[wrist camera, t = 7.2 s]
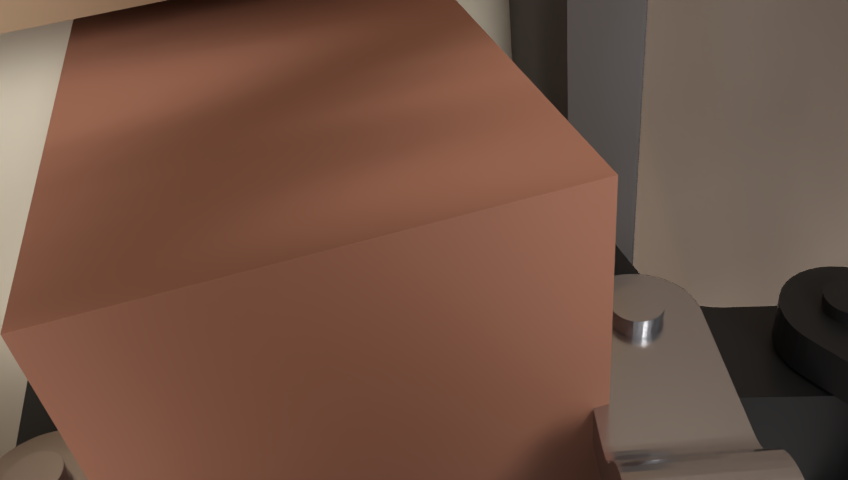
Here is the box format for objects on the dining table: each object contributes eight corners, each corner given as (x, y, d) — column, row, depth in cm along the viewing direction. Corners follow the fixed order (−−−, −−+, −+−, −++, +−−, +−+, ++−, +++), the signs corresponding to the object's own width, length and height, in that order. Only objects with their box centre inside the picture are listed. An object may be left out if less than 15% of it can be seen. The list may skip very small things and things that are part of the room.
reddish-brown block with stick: (400, -61, 10) (617, 174, 5) (473, 502, 17) (593, 814, 13) (76, 5, 9) (0, 334, 5) (292, 560, 17) (346, 909, 12)
